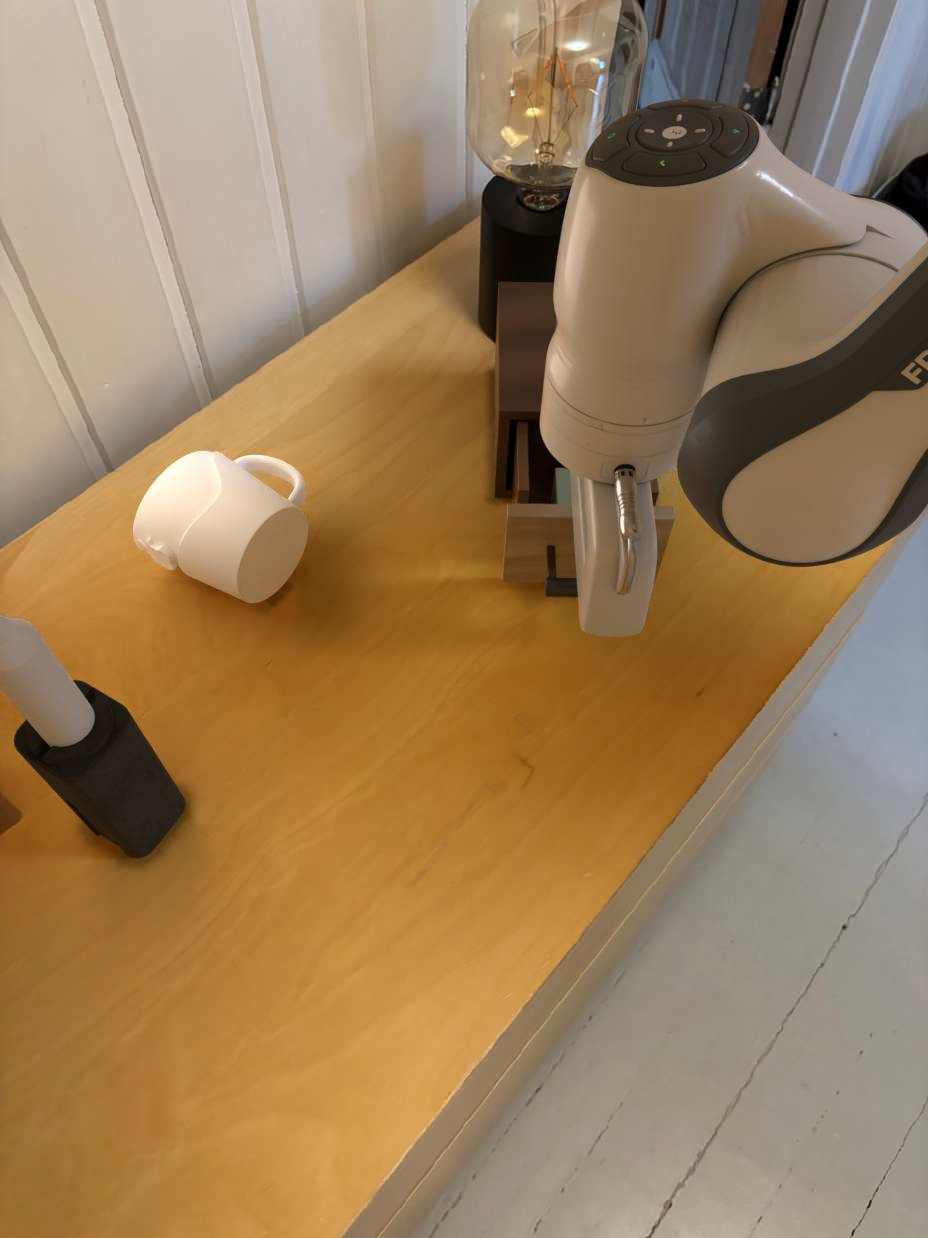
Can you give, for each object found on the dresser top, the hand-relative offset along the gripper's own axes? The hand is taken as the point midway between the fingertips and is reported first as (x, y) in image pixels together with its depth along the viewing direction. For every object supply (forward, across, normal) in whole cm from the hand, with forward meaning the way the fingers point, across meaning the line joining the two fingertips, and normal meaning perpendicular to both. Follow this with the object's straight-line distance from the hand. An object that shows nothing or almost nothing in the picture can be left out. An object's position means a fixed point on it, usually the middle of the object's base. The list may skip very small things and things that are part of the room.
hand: (590, 554), depth 64 cm
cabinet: (+8, +19, 0) cm, 20 cm away
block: (+6, +7, 0) cm, 9 cm away
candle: (+8, -16, +30) cm, 35 cm away
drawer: (+7, +7, 0) cm, 10 cm away
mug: (+8, +6, +26) cm, 28 cm away
